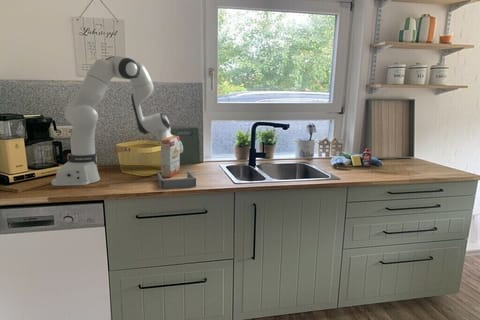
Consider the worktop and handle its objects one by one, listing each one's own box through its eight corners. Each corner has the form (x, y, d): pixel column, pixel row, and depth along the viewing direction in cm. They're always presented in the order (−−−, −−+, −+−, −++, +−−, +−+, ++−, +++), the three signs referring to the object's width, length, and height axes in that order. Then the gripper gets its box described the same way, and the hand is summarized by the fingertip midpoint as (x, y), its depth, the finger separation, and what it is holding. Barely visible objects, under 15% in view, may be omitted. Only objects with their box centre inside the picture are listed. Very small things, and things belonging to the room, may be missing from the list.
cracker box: (171, 177, 186) (170, 139, 181) (160, 177, 187) (159, 139, 183) (180, 171, 199) (180, 136, 195) (170, 171, 200) (170, 135, 196)
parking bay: (161, 188, 166) (161, 180, 165) (157, 179, 181) (157, 172, 181) (196, 186, 172) (196, 178, 171) (189, 177, 187) (189, 170, 186)
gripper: (147, 137, 204) (149, 156, 197) (181, 136, 211) (185, 155, 204) (147, 143, 209) (149, 162, 202) (180, 142, 216) (183, 160, 209)
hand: (167, 158), depth 203 cm, fingers closed
